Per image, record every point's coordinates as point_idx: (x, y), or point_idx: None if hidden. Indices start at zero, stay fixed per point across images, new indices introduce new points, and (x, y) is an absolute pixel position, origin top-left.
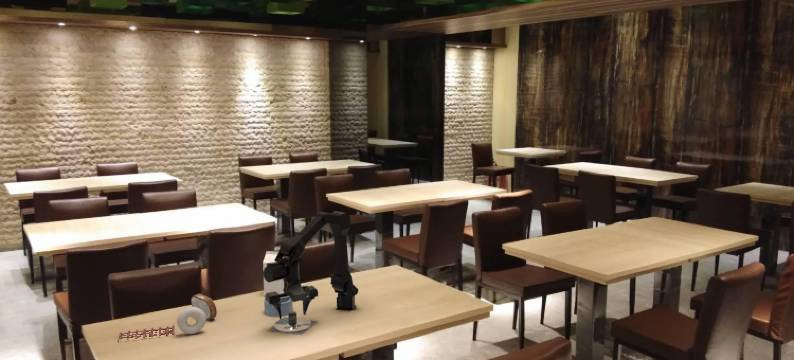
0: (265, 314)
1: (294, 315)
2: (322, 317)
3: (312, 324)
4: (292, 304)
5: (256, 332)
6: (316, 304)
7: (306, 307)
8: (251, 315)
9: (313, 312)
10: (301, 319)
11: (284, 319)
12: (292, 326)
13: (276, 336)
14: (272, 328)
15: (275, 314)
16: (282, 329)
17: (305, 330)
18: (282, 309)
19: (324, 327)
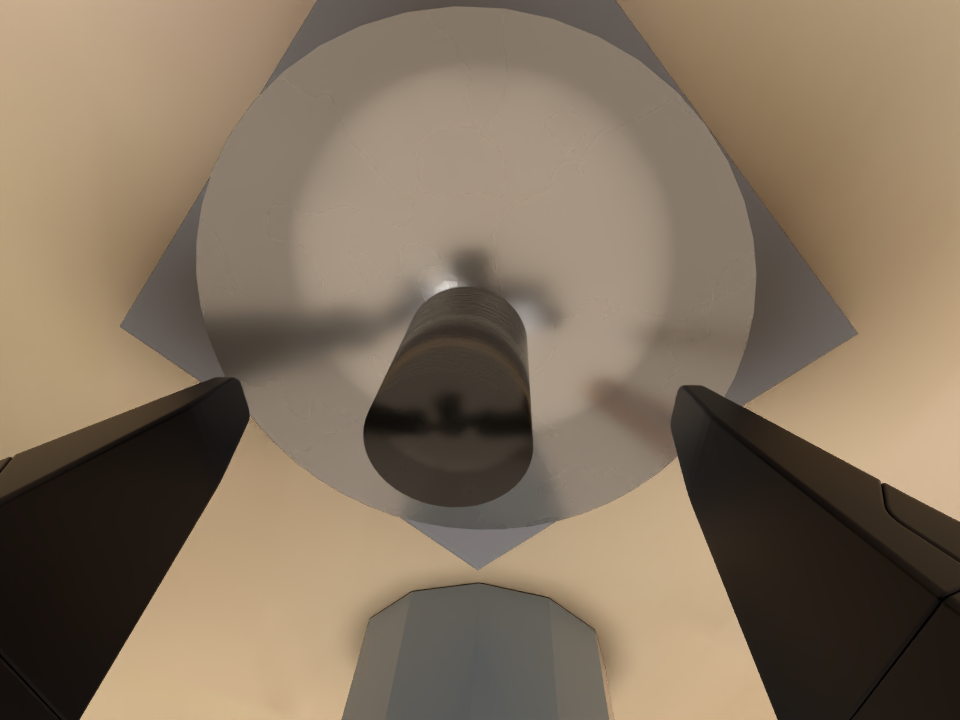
0: (605, 672)
1: (428, 360)
2: (82, 421)
3: (195, 235)
4: (344, 711)
5: (955, 368)
6: (152, 663)
7: (63, 451)
8: (698, 700)
9: (181, 558)
10: (319, 416)
11: (515, 502)
12: (508, 231)
13: (855, 62)
14: (747, 362)
15: (551, 632)
16: (712, 177)
17: (334, 14)
18: (478, 668)
19: (17, 66)
